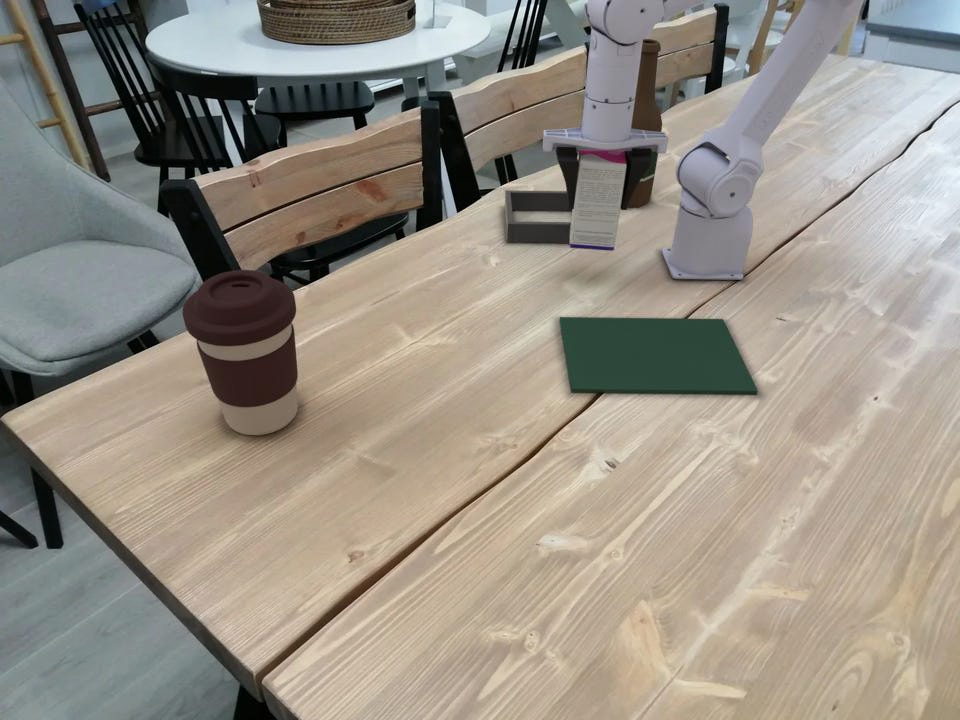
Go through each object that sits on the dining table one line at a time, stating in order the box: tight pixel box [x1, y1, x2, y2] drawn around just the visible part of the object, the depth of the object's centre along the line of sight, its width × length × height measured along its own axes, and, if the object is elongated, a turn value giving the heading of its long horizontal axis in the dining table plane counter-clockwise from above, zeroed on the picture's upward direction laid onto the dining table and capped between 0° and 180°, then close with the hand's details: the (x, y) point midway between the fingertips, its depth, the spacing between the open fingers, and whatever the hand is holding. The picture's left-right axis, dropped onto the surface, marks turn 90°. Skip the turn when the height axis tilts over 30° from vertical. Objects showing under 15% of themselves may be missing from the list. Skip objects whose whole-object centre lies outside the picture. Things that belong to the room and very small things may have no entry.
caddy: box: [504, 189, 572, 244], centre depth 110 cm, size 12×12×3 cm
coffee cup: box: [181, 269, 299, 436], centre depth 71 cm, size 10×10×15 cm
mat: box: [559, 316, 759, 395], centre depth 85 cm, size 20×14×1 cm
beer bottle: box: [627, 38, 663, 208], centre depth 112 cm, size 8×8×24 cm
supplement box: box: [568, 150, 627, 252], centre depth 92 cm, size 6×6×12 cm
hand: (597, 206), depth 92 cm, fingers closed on supplement box, 6 cm apart
